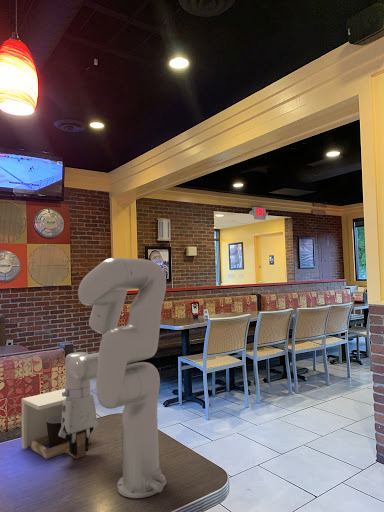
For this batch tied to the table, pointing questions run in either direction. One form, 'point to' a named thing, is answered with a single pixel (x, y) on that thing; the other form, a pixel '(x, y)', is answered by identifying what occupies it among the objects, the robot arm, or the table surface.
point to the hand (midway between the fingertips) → (79, 451)
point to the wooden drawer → (59, 446)
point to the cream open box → (39, 414)
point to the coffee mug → (55, 431)
